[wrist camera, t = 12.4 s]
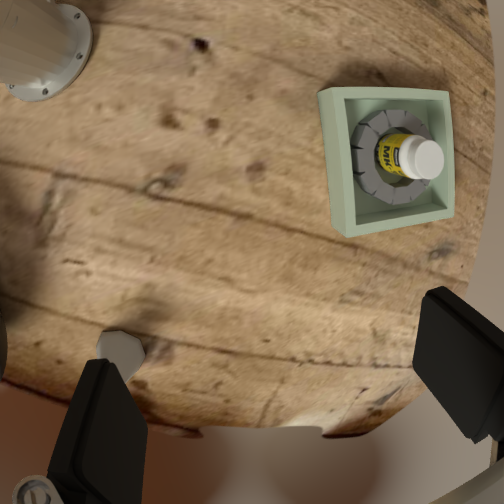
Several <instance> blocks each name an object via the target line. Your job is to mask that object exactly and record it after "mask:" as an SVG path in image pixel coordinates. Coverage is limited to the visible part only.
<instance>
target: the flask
mask: <svg viewBox="0 0 504 504" xmlns="http://www.w3.org/2000/svg"><path fill="white" fill-rule="evenodd" d="M96 352H97V359H102V358H106V359H108V360H109V361H110V363H111V362H113V363H115V365H116V366H117V368H118V370H119V372H120V374H121V376H122V378H123V380H124V382H125V383H126V382H127V381H128V380H129V379H130V378H131V377H132V376H133V375H134V374H135V373H136V372H137V371H138V370H139V368H140V366H141V364H142V362H143V360H144V358H145V357H146V356H145V353H144V350H143V347H142V344H141V341H140V339H138V338H135V337H133V336H131V335H129V334H127V333H125V332H123V331H109V332H101V335H100V337H99V340H98V343H97V345H96Z"/></svg>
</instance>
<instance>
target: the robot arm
mask: <svg viewBox="0 0 504 504" xmlns="http://www.w3.org/2000/svg"><path fill="white" fill-rule="evenodd" d="M79 17H80V18H79ZM92 43H93V31H92V25H91V23H90V21H89V18H88V17H87V16H86V15H85V13H84V12H83V11H81V10H80V9H79V8H77V7H75V6H73V5H69V4H56V3H55V0H0V83H5V85H6V87H7V89H8V90H9V92H10V93H11V94H12V95H13V96H14V97H16V98H18V99H20V100H24V101H30V102H38V101H44V100H47V99H49V98H52V97H54V96H55V95H57V94H59V93H61V92H62V91H63V90H64V89H66V88H67V87H68V86H69V85H70V84H71V83H72V82H73V81H74V80H75V79H76V78H77V76H78V75H79V73H80V72H81V71H82V69H83V67H84V65H85V64H86V62H87V60H88V57H89V54H90V52H91V47H92ZM81 56H83V57H82V58H81ZM80 58H81V59H80ZM47 92H48V94H47ZM412 364H413V368H414V371H415V372H416V373H417V375H418V376H419V377H420V378H421V380H422V381H423V382H424V383H425V385H426V386H427V387H428V389H429V390H430V391H431V392H432V394H433V395H434V396H435V397H436V399H437V400H438V401H439V403H440V404H441V405H442V407H443V408H444V409H445V410H446V411H447V413H448V414H449V416H450V417H451V418H452V420H453V421H454V422H455V424H456V425H457V426H458V428H459V429H460V430H461V432H462V433H463V434H464V436H465V437H466V438H469V439H470V438H471V440H472V441H473V442H474V444H476V443H478V442H480V441H481V440H483V439H484V438H486V437H487V436H488V434H490V436H491V437H492V448H491V458H490V467H489V468H488V469H486V470H485V471H483V472H482V473H480V474H479V475H477V476H476V477H474V478H473V479H471V480H469V481H468V482H466V483H465V484H463V485H461V486H460V487H458V488H456V489H455V490H453V491H451V492H449V493H447V494H446V495H444V496H442V497H440V498H439V499H437V500H435V501H433V502H431V503H429V504H504V332H503V331H501V330H500V329H499V328H498V327H496V326H495V325H494V324H493V323H492V322H490V321H489V320H488V319H487V318H485V317H484V316H483V315H481V314H480V313H479V312H478V311H476V310H475V309H474V308H473V307H471V306H470V305H469V304H467V303H466V302H465V301H464V300H462V299H461V298H460V297H458V296H457V295H456V294H454V293H453V292H452V291H450V290H449V289H448V288H446V287H444V286H440V287H437V288H434V289H431V290H428V291H427V292H426V294H425V296H424V297H423V299H422V304H421V312H420V319H419V326H418V332H417V338H416V344H415V350H414V355H413V361H412ZM147 435H148V428H147V423H146V421H145V419H144V417H143V416H142V414H141V412H140V410H139V409H138V407H137V405H136V403H135V401H134V399H133V398H132V396H131V394H130V392H129V390H128V388H127V386H126V384H125V382H124V380H123V378H122V376H121V374H120V372H119V370H118V368H117V366H116V365H115V363H113V362H111V363H110V361H109V360H108V359H106V358H102V359H92V360H88V361H87V363H86V365H85V367H84V370H83V372H82V375H81V377H80V380H79V382H78V385H77V387H76V390H75V392H74V395H73V397H72V400H71V403H70V405H69V408H68V411H67V413H66V416H65V419H64V422H63V424H62V427H61V430H60V433H59V436H58V439H57V442H56V445H55V448H54V451H53V454H52V457H51V460H50V464H49V467H48V470H47V471H48V474H47V477H44V476H40V475H31V476H29V477H26V478H24V479H23V480H22V481H20V482H19V483H18V485H17V486H16V487H15V490H14V492H13V499H12V501H13V504H141V500H142V486H143V474H144V463H145V453H146V444H147Z"/></svg>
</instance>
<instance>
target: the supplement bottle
mask: <svg viewBox="0 0 504 504" xmlns="http://www.w3.org/2000/svg"><path fill="white" fill-rule="evenodd" d="M374 158H375V161H376V163H377V164H378V166H379V167H380V168H381V169H383V170H384V171H387V172H390V173H394V174H398V175H401V176H405V177H408V178H411V179H422V178H424V179H434V178H436V177H437V176H438V175H439V174H440V173H441V171H442V169H443V166H444V154H443V151H442V149H441V147H440V146H439V145H438V144H437V143H436V142H435V141H432V140H426V139H425V138H424V137H422V136H419V135H410V134H394V133H388V134H384V135H382V136H381V137H380V138H379V139H378V141H377V144H376V146H375V149H374Z"/></svg>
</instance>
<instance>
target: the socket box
mask: <svg viewBox="0 0 504 504" xmlns="http://www.w3.org/2000/svg"><path fill="white" fill-rule="evenodd" d="M317 97H318V104H319V111H320V118H321V125H322V133H323V141H324V149H325V158H326V167H327V177H328V187H329V198H330V210H331V223H332V227H333V228H334V229H336V230H337V231H338V232H340V233H341V234H342V235H344V236H345V237H346V238H348V237H353V236H359V235H364V234H369V233H374V232H379V231H384V230H389V229H395V228H400V227H405V226H410V225H415V224H420V223H425V222H430V221H435V220H441V219H446V218H451V217H454V196H455V174H454V145H453V130H452V118H451V109H450V100H449V92H448V91H440V90H428V89H414V88H395V87H331V88H328V89H325V90H323V91H320V92H317ZM388 133H394V134H410V135H419V136H422V137H424V138H425V139H426V140H432V141H435V142H436V143H437V144H438V145H439V146H440V147H441V149H442V151H443V154H444V166H443V169H442V171H441V173H440V174H439V175H438V176H437V177H436V178H434V179H424V178H422V179H411V178H408V177H405V176H401V175H398V174H394V173H390V172H387V171H384V170H383V169H381V168H380V167H379V166H378V164H377V163H376V161H375V158H374V149H375V146H376V144H377V141H378V139H379V138H380V137H381V136H382V135H384V134H388Z"/></svg>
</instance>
